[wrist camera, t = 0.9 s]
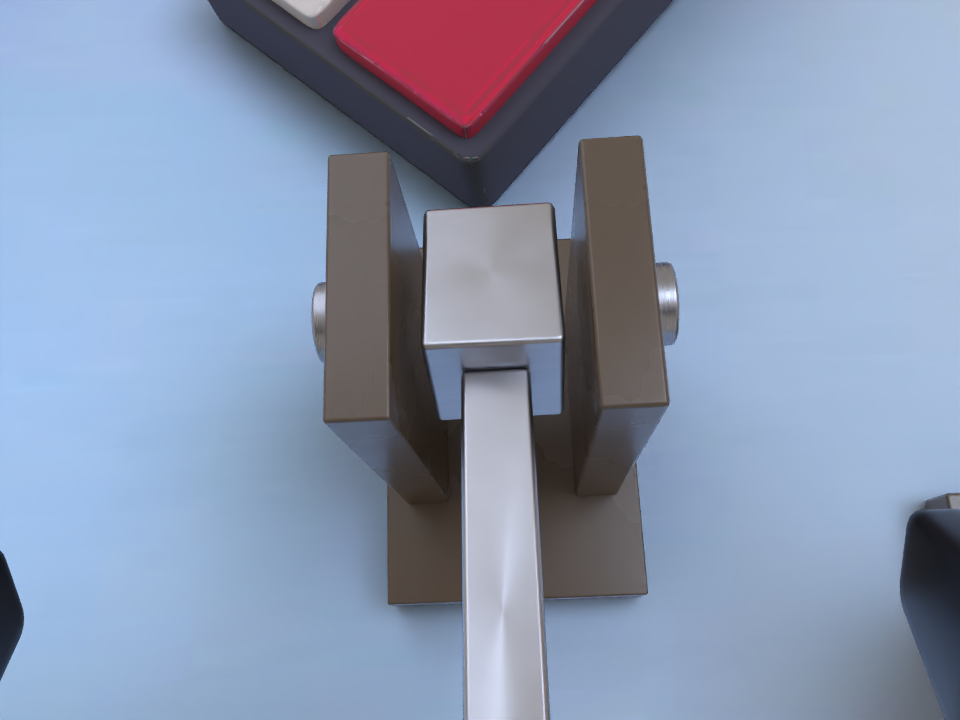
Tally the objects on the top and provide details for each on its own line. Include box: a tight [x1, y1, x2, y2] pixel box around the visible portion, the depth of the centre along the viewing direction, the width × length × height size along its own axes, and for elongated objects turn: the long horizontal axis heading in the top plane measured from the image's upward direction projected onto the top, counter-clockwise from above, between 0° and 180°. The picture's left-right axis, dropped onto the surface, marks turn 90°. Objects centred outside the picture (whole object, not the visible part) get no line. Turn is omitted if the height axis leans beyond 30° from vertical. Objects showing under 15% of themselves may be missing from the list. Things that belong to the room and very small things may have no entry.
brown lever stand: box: [311, 136, 679, 606], centre depth 18 cm, size 9×6×10 cm, turn 2°
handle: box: [421, 203, 565, 720], centre depth 13 cm, size 11×4×2 cm, turn 2°
